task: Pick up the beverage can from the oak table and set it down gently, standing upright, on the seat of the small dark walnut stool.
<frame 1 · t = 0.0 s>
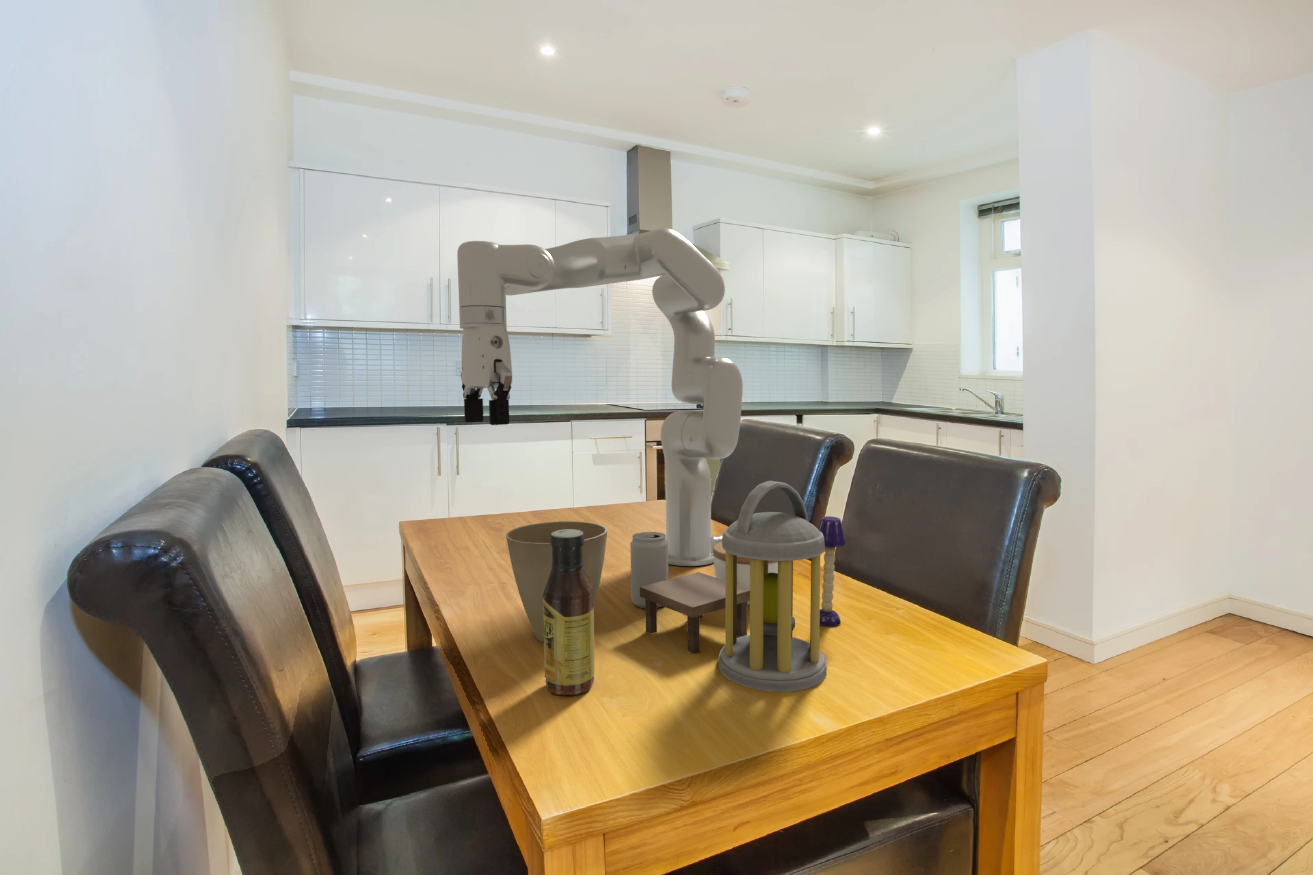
hand: (486, 423, 112), 31 cm above the table, tool pointing down, fingers open, 9 cm apart
lantern: (772, 668, 89), on the table
beverage can: (649, 604, 115), on the table
sauce bottle: (570, 688, 84), on the table
walnut stool: (695, 633, 101), on the table
plant pot: (559, 635, 101), on the table
toy lamp: (828, 623, 105), on the table
lidded bowl: (749, 599, 117), on the table
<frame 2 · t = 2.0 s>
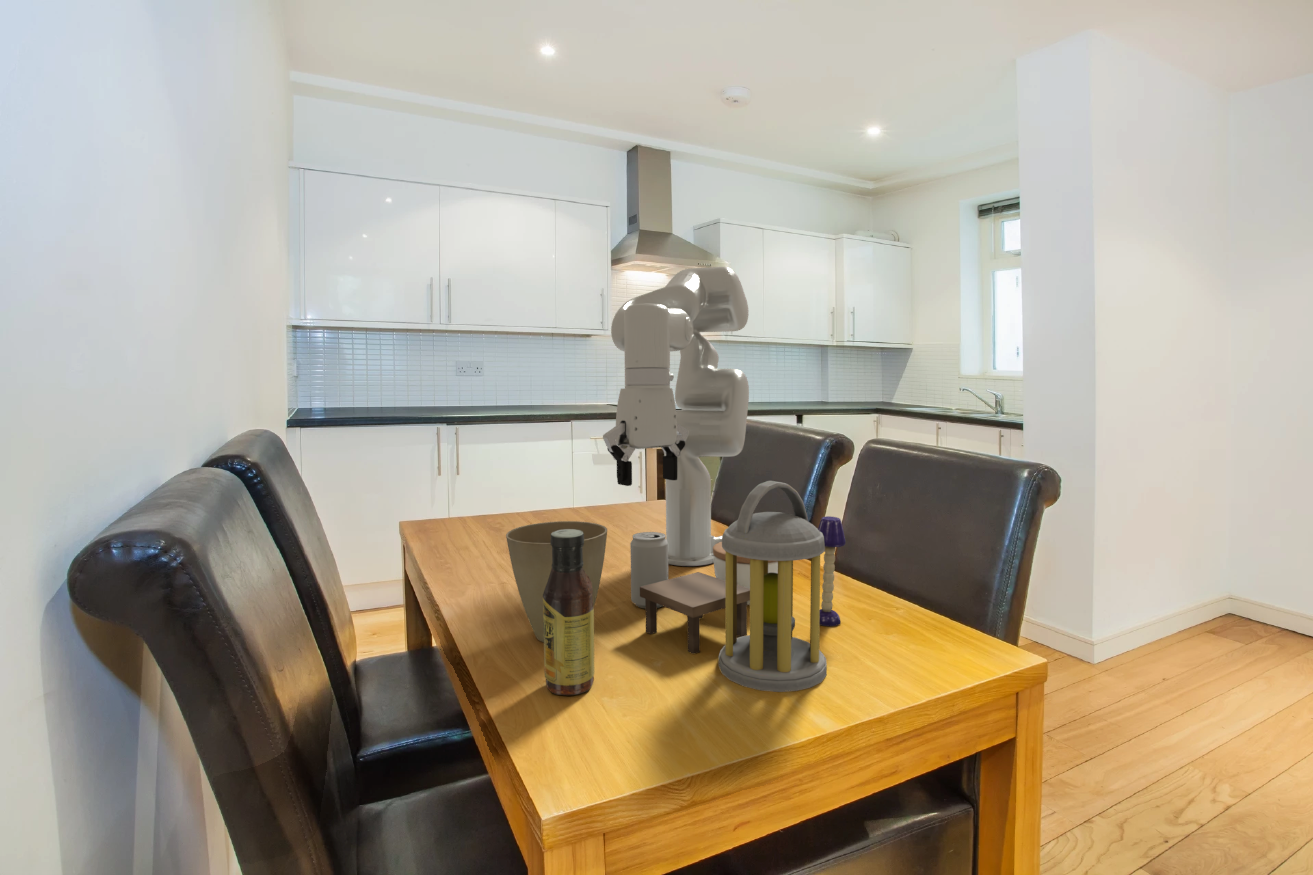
hand: (648, 482, 113), 21 cm above the table, tool pointing down, fingers open, 9 cm apart
nothing on the table moved.
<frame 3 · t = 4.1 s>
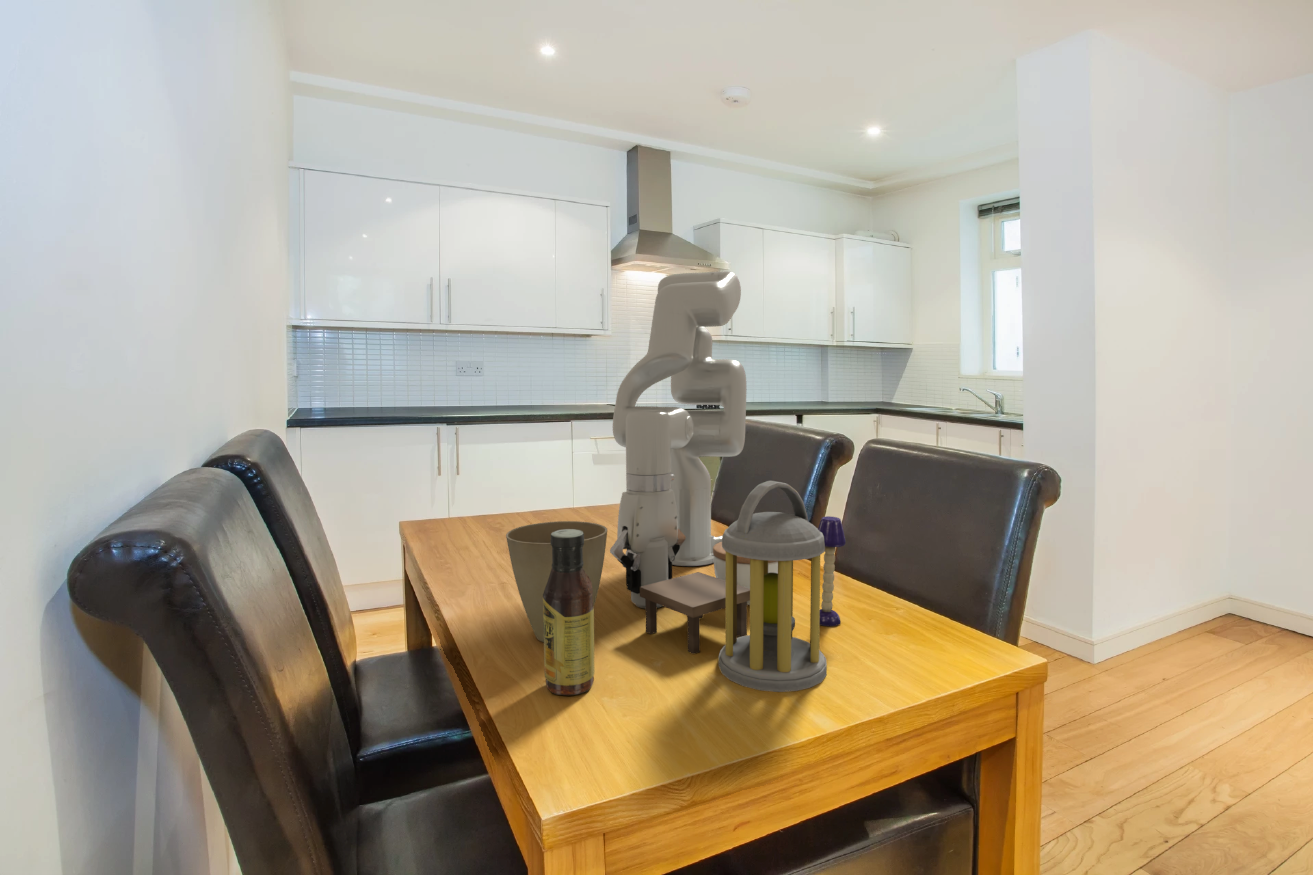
hand: (649, 586, 115), 3 cm above the table, tool pointing down, fingers closed on beverage can, 6 cm apart
beverage can: (649, 604, 115), on the table, touching gripper
everything else where it was.
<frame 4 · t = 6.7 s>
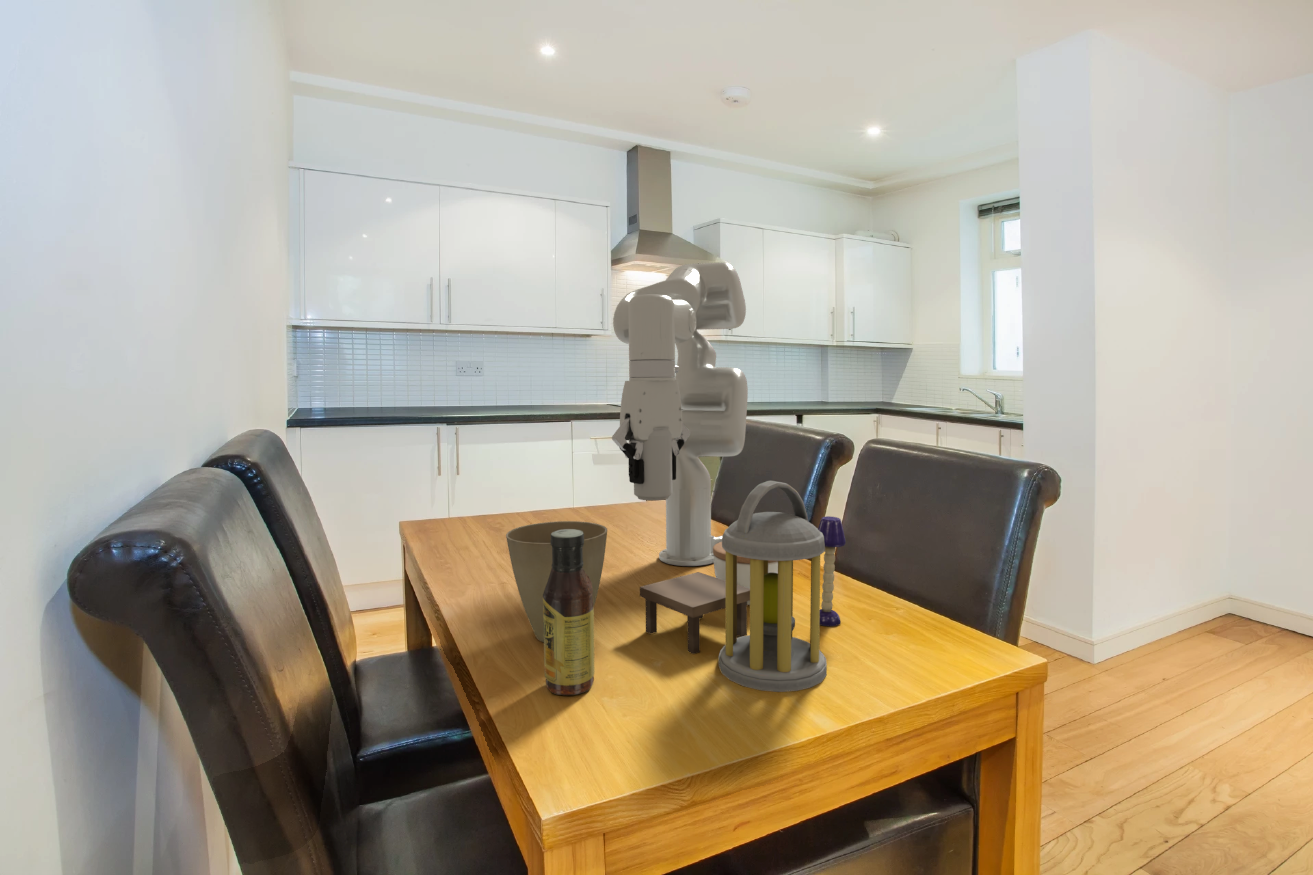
hand: (652, 480, 111), 22 cm above the table, tool pointing down, fingers closed on beverage can, 6 cm apart
beverage can: (653, 499, 112), point 18 cm above the table, touching gripper
everything else where it was.
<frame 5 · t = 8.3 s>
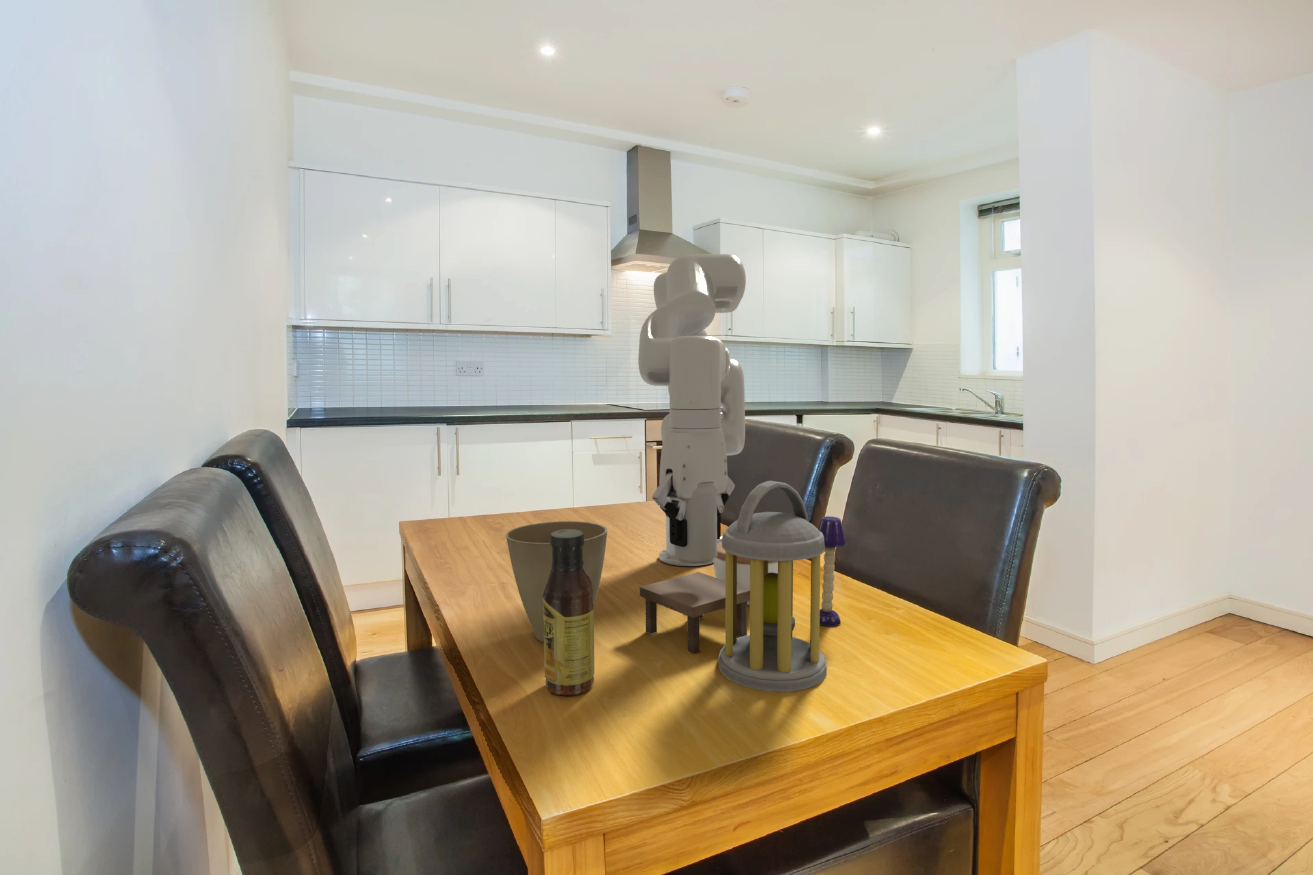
hand: (695, 540, 100), 14 cm above the table, tool pointing down, fingers closed on beverage can, 6 cm apart
beverage can: (695, 561, 100), point 11 cm above the table, touching gripper
everything else where it was.
when the fingers open (11 cm above the table, at t = 9.4 s): beverage can stays where it is, resting on walnut stool.
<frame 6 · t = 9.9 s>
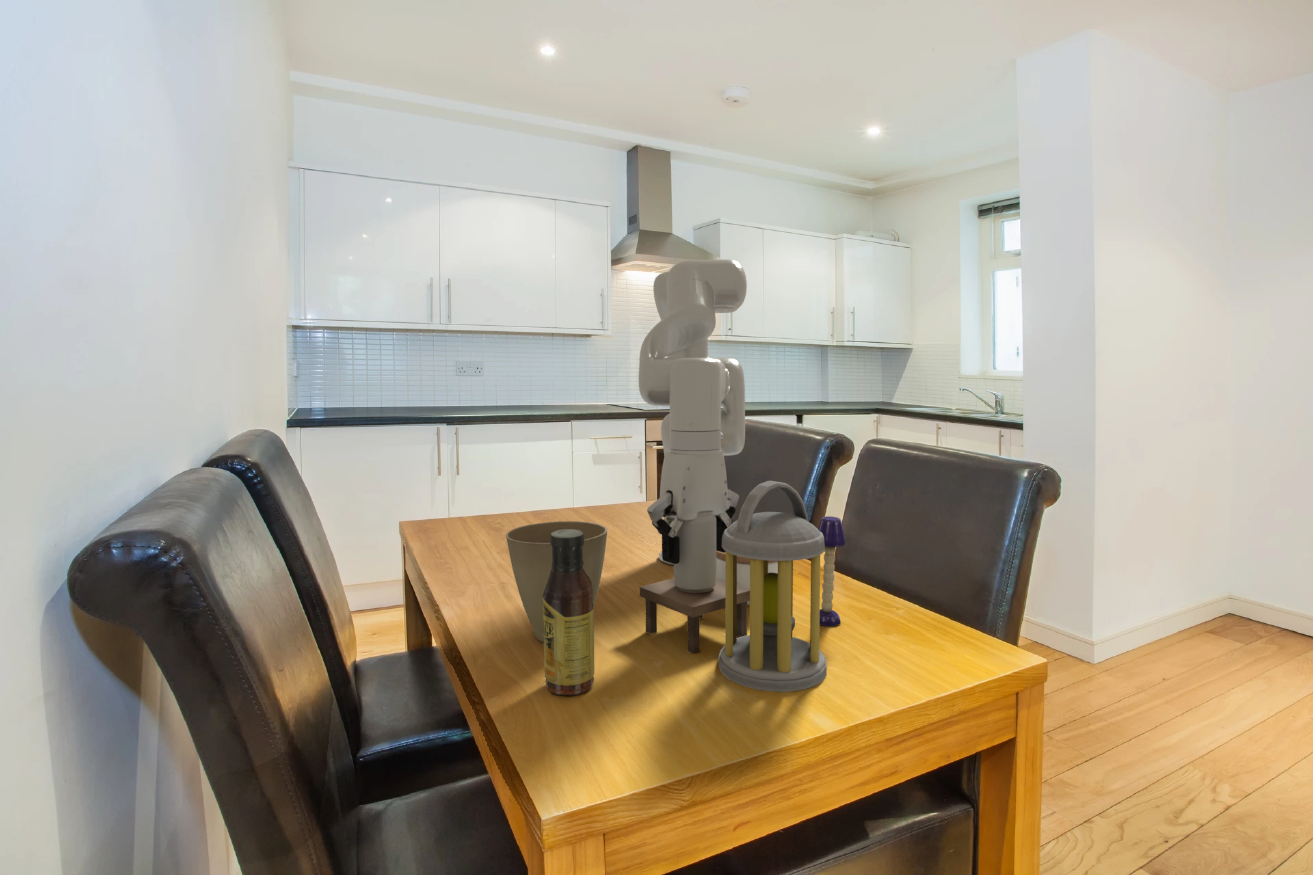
hand: (695, 556, 100), 12 cm above the table, tool pointing down, fingers open, 9 cm apart
beverage can: (695, 589, 101), point 7 cm above the table, touching walnut stool
everything else where it was.
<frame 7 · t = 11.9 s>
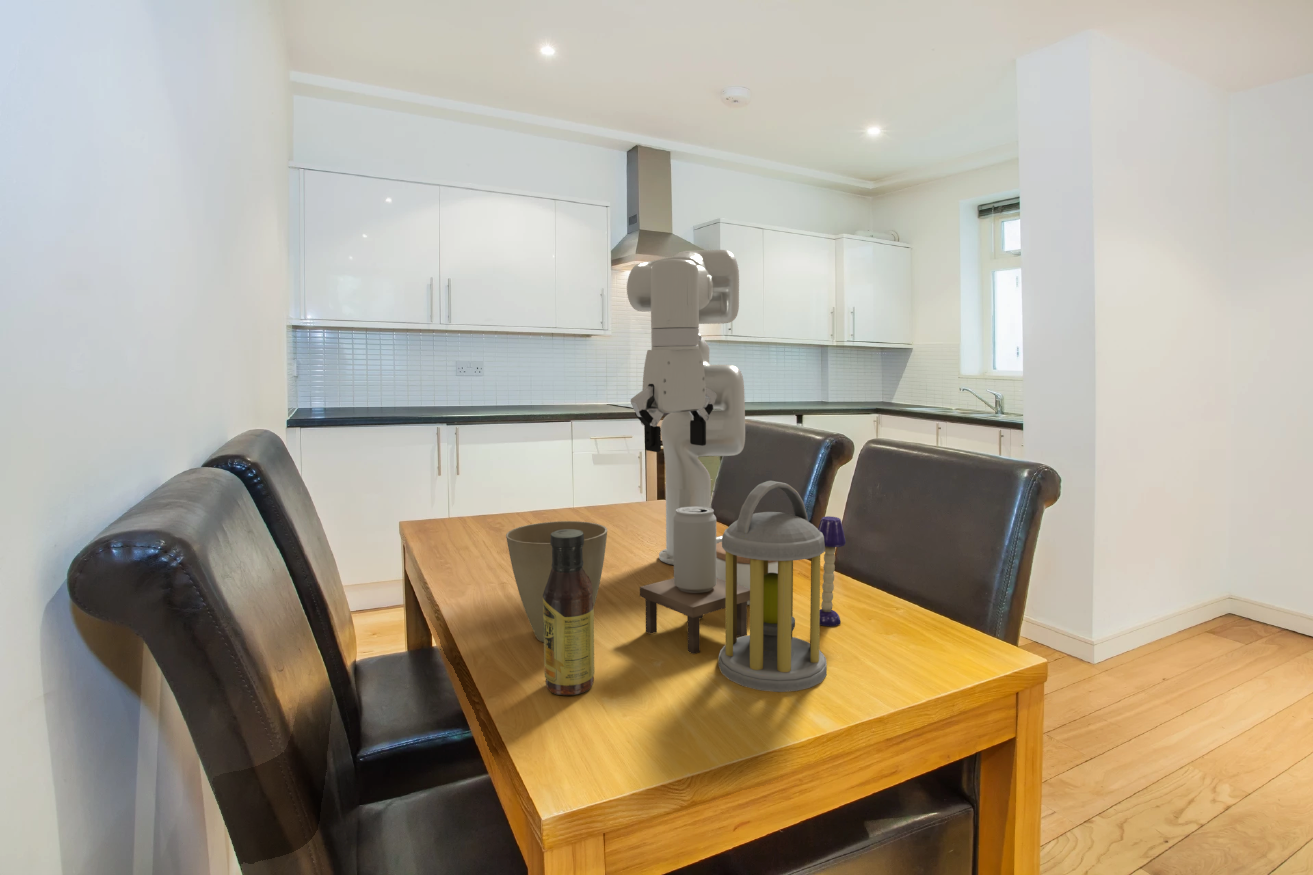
hand: (676, 447, 108), 27 cm above the table, tool pointing down, fingers open, 9 cm apart
nothing on the table moved.
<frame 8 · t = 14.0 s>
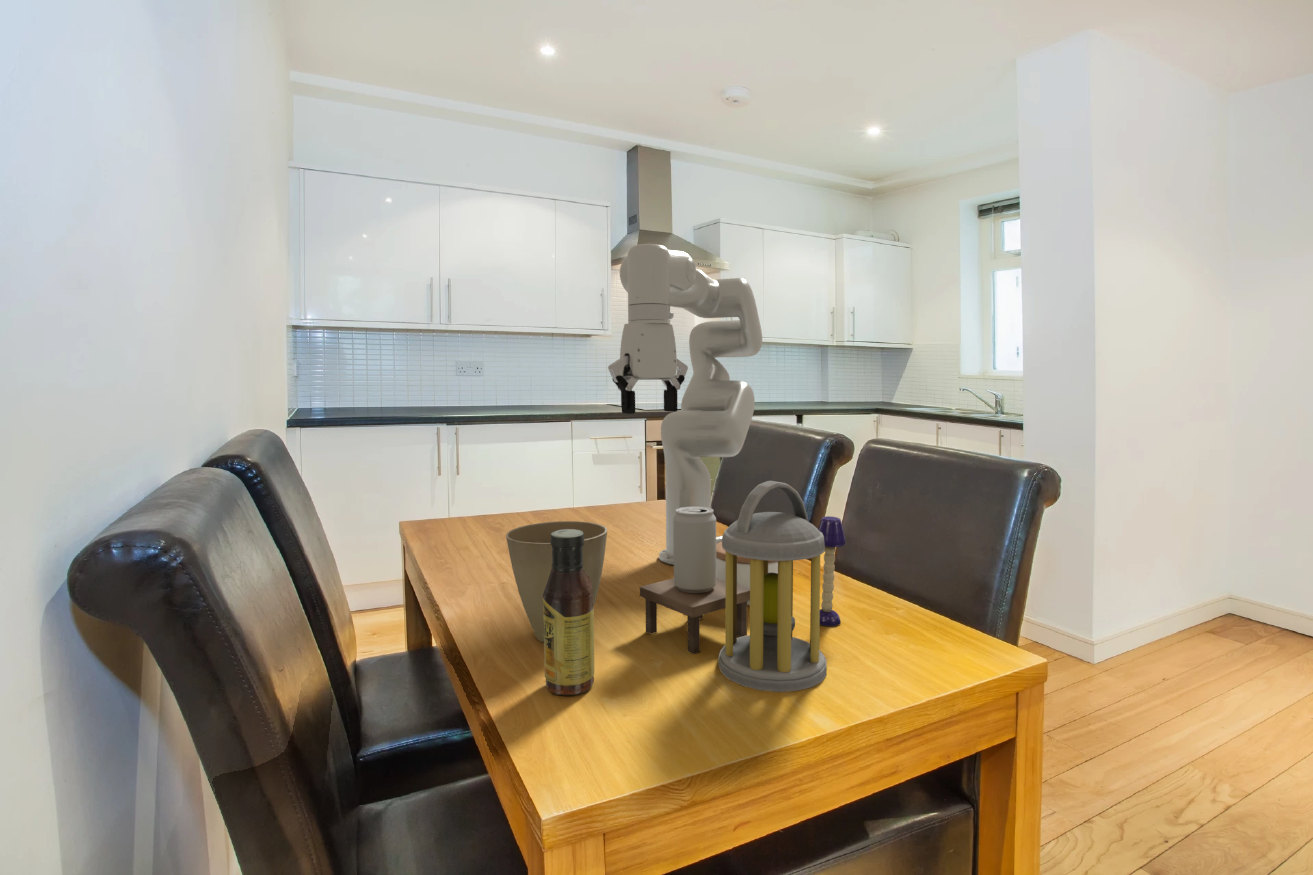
hand: (650, 412, 121), 32 cm above the table, tool pointing down, fingers open, 9 cm apart
nothing on the table moved.
at the end: beverage can 0.1 cm off-centre on the walnut stool, point 6.8 cm above the walnut stool's base; beverage can tilted 0°; the gripper is holding nothing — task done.
